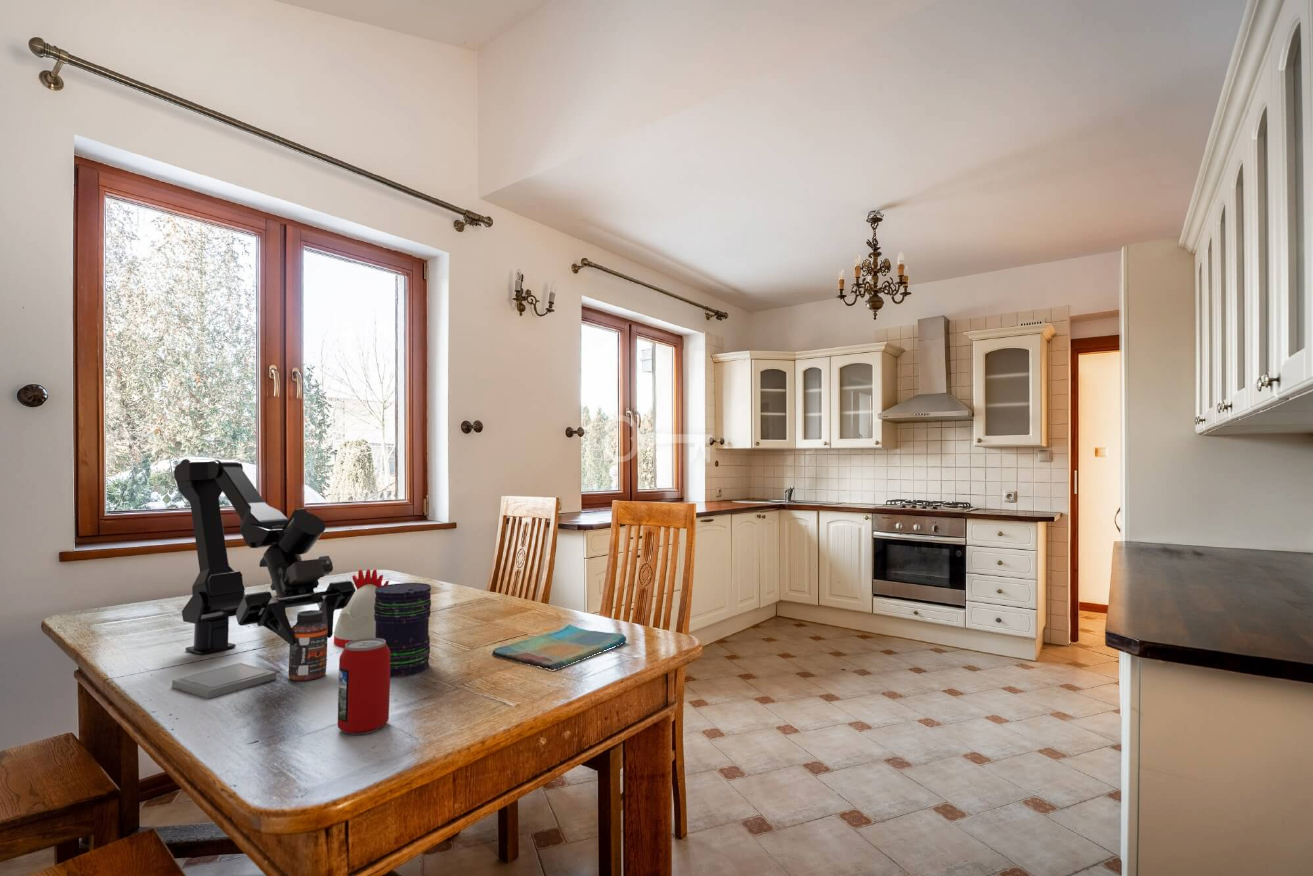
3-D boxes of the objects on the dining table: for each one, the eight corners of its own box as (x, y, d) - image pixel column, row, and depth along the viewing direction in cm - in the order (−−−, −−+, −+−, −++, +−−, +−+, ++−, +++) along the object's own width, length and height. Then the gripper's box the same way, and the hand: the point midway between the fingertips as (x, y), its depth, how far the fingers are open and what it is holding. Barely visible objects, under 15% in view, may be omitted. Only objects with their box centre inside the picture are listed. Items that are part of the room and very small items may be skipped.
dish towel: (629, 646, 137) (629, 633, 137) (554, 675, 118) (554, 660, 118) (568, 634, 147) (568, 622, 147) (489, 659, 127) (489, 646, 127)
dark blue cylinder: (363, 669, 118) (365, 587, 119) (414, 658, 126) (415, 580, 126) (387, 681, 112) (389, 595, 112) (439, 669, 119) (441, 587, 119)
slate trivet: (171, 687, 108) (172, 679, 108) (240, 669, 118) (240, 662, 118) (208, 698, 103) (208, 690, 103) (276, 679, 113) (276, 671, 113)
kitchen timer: (359, 629, 147) (361, 563, 148) (415, 632, 145) (417, 565, 146) (319, 646, 133) (321, 573, 134) (381, 649, 131) (383, 575, 132)
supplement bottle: (310, 683, 111) (311, 616, 111) (280, 680, 112) (282, 615, 112) (334, 672, 116) (335, 609, 117) (305, 670, 118) (307, 607, 118)
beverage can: (348, 719, 95) (350, 637, 96) (395, 717, 96) (397, 636, 96) (328, 738, 88) (331, 649, 89) (379, 736, 89) (381, 649, 90)
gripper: (244, 547, 110) (269, 622, 103) (352, 538, 125) (380, 603, 118) (226, 588, 115) (248, 662, 107) (332, 574, 129) (357, 639, 122)
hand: (312, 640), depth 114 cm, fingers closed on supplement bottle, 6 cm apart
